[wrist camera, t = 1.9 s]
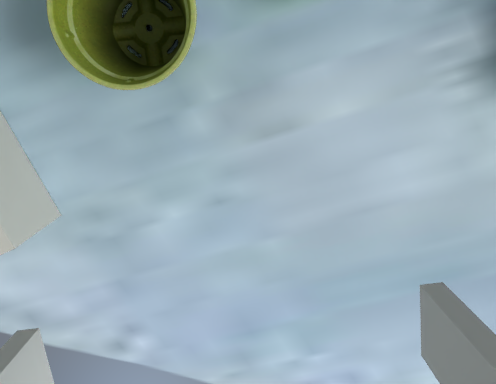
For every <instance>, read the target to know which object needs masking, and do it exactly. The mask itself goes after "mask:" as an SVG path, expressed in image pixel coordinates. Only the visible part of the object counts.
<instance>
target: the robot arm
mask: <svg viewBox="0 0 496 384" xmlns="http://www.w3.org/2000/svg"><path fill="white" fill-rule="evenodd" d="M420 311H421V356H422V357H423V359H424V360H425V362H426V363H427V365H428V366H429V368H430V369H431V371H432V372H433V374H434V375H435V377H436V378H437V380H438V381H439V383H440V384H496V335H495V334H494V333H493V332H492V331H491V330H490V329H489V328H488V327H487V326H486V325H485V324H484V323H483V322H482V321H481V320H480V319H479V318H478V317H477V316H476V315H475V314H474V313H473V312H472V311H471V310H470V309H469V308H468V307H467V306H466V305H465V304H464V303H463V302H462V301H461V300H460V299H459V298H458V297H457V296H456V295H455V294H454V293H453V292H452V291H451V290H450V289H449V288H448V287H447V286H446V285H445V284H444V283H443V282H441V283H433V284H424V285H420ZM0 384H54V381H53V377H52V374H51V370H50V366H49V363H48V359H47V355H46V352H45V348H44V345H43V341H42V337H41V334H40V330H39V328H36V329H27V330H18V331H16V332H15V334H14V335H13V336H12V337H11V338H10V339H9V340H8V341H7V342H6V343H5V344H4V345H3V346H2V348H1V349H0Z"/></svg>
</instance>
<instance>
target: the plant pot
mask: <svg viewBox="0 0 496 384" xmlns="http://www.w3.org/2000/svg"><path fill="white" fill-rule="evenodd" d="M166 1H167V2H168V3H170V5H171V6H172V8H173V10H172V11H170V9H168V8H167V7H166V6H165V5H164V4H163V3H161V2H160V1H159V0H47V15H48V21H49V25H50V29H51V32H52V34H53V37H54V39H55V41H56V43H57V45H58V47H59V49H60V50H61V52H62V54H63V55H64V56H65V58H66V59H67V60H68V62H69V63H70V64H71V65H72V66H73V67H74V68H75V69H76V70H78V71H79V72H80V73H81V74H83V75H84V76H86V77H87V78H88V79H90V80H92V81H94V82H96V83H98V84H100V85H103V86H106V87H109V88H113V89H119V90H136V89H142V88H146V87H149V86H152V85H155V84H157V83H159V82H161V81H162V80H164V79H165V78H167V77H168V76H169V75H170V74H172V73H173V72H174V71H175V70H176V69H177V68H178V67H179V65H180V64H181V63H182V61H183V60H184V58H185V56H186V55H187V53H188V51H189V48H190V46H191V43H192V40H193V37H194V33H195V28H196V18H197V11H196V2H195V0H166ZM128 3H132V7H131V8H130V9H129V10H128V11H127V13H126V15H124V17H122V12H123V9H124V7H125V6H126V5H127V4H128ZM147 25H151V26H152V30H151V31H148V30H147V29H146V26H147ZM175 40H178V46H177V47H176V48H175V49H174V51H173V52H172V53H170V54H168V53H167V51H168V50H169V49H170V48H171V46H172V45H173V44H174V41H175ZM128 46H131V48H133V49H134V50H135V51H136V52H137V53H139V54H141V56H142V57H140V58H138V57H137V56H136V55H135V54H132V53H131V52H130V51H129V50H128V49H127V47H128Z"/></svg>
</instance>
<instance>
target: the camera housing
mask: <svg viewBox="0 0 496 384" xmlns="http://www.w3.org/2000/svg"><path fill="white" fill-rule="evenodd" d="M60 216H61V214H60V212H59V210H58V209H57V207H56V205H55V204H54V202H53V200H52V198H51V197H50V195H49V193H48V192H47V190H46V188H45V186H44V185H43V183H42V181H41V180H40V178H39V176H38V174H37V173H36V171H35V169H34V168H33V166H32V164H31V162H30V161H29V159H28V157H27V156H26V154H25V152H24V150H23V149H22V147H21V145H20V144H19V142H18V140H17V138H16V137H15V135H14V133H13V132H12V130H11V128H10V126H9V125H8V123H7V121H6V120H5V118H4V116H3V114H2V113H1V111H0V255H2V254H4V253H6V252H8V251H11V250H13V249H15V248H17V247H18V246H19V245H21V244H22V243H24V242H25V241H26V240H28V239H29V238H31V237H32V236H33V235H35V234H36V233H37V232H39V231H40V230H42V229H43V228H44V227H46V226H47V225H49V224H50V223H51V222H53V221H54V220H56V219H57V218H58V217H60Z"/></svg>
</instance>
